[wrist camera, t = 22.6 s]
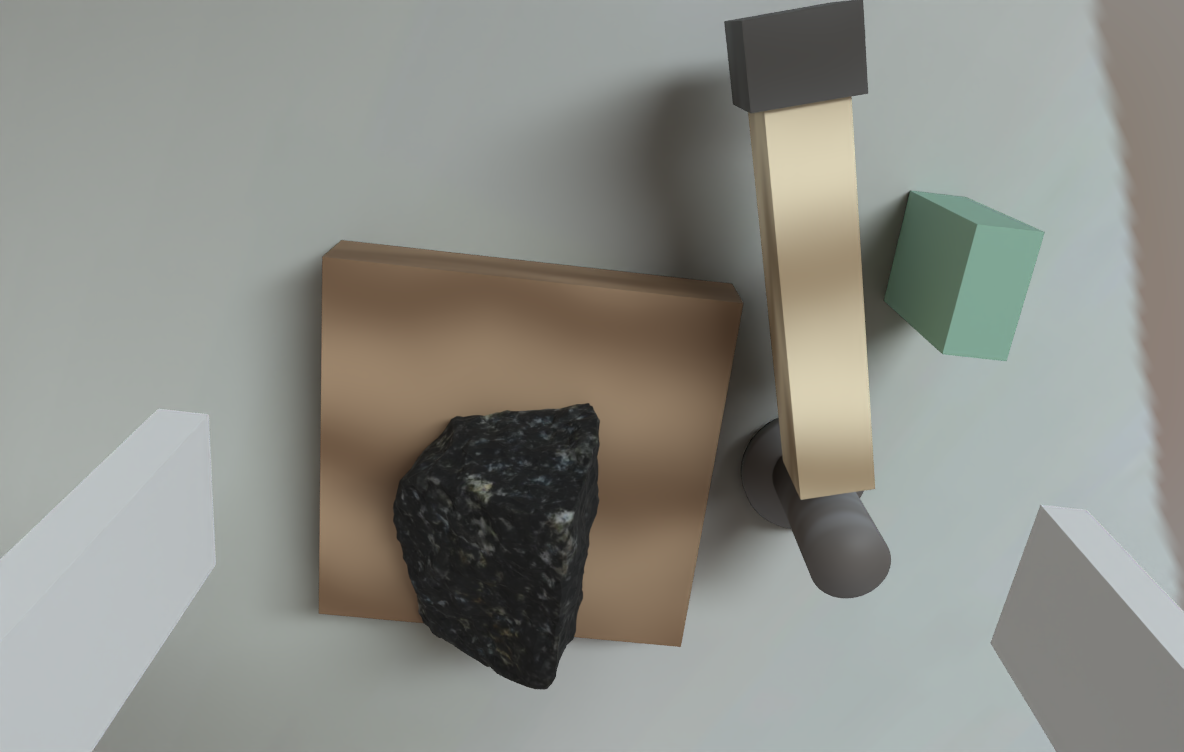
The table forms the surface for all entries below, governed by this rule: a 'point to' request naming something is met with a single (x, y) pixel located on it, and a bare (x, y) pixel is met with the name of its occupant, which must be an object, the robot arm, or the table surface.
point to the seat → (551, 381)
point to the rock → (503, 534)
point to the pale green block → (962, 274)
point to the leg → (810, 232)
